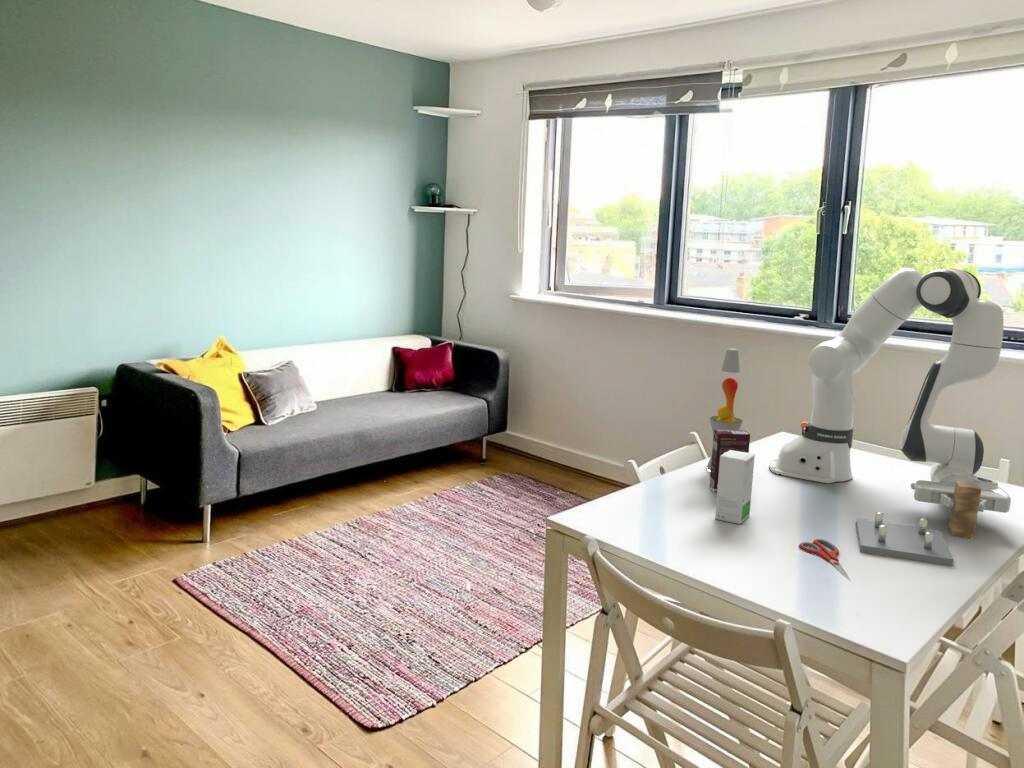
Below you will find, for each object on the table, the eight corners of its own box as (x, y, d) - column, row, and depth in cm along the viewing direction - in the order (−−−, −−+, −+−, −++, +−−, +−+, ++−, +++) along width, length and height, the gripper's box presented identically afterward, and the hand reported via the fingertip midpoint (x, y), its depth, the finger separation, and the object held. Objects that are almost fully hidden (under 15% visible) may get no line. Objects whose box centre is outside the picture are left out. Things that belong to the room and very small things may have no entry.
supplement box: (740, 487, 220) (745, 429, 216) (745, 493, 215) (751, 434, 212) (708, 486, 219) (713, 428, 216) (712, 492, 215) (718, 433, 211)
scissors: (850, 587, 162) (851, 580, 161) (792, 545, 182) (793, 539, 181) (884, 585, 163) (885, 578, 163) (824, 544, 183) (824, 537, 183)
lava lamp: (715, 463, 240) (726, 345, 233) (743, 471, 234) (755, 349, 227) (699, 469, 234) (709, 348, 227) (727, 477, 228) (739, 352, 221)
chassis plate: (860, 551, 178) (860, 545, 178) (855, 524, 195) (856, 518, 195) (952, 566, 173) (953, 559, 172) (939, 536, 189) (940, 530, 189)
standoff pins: (877, 542, 180) (879, 527, 180) (873, 525, 190) (875, 511, 190) (931, 550, 177) (934, 534, 176) (925, 533, 187) (927, 518, 186)
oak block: (951, 535, 190) (959, 486, 188) (948, 529, 194) (955, 480, 192) (973, 538, 189) (981, 489, 186) (969, 532, 193) (977, 483, 190)
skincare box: (740, 525, 191) (746, 461, 188) (712, 519, 195) (718, 455, 192) (750, 515, 198) (756, 453, 195) (723, 509, 202) (729, 448, 199)
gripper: (911, 470, 205) (918, 487, 192) (1004, 482, 198) (1017, 499, 185) (907, 495, 206) (914, 512, 193) (1000, 507, 199) (1013, 526, 187)
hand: (965, 506), depth 189 cm, fingers closed on oak block, 4 cm apart
